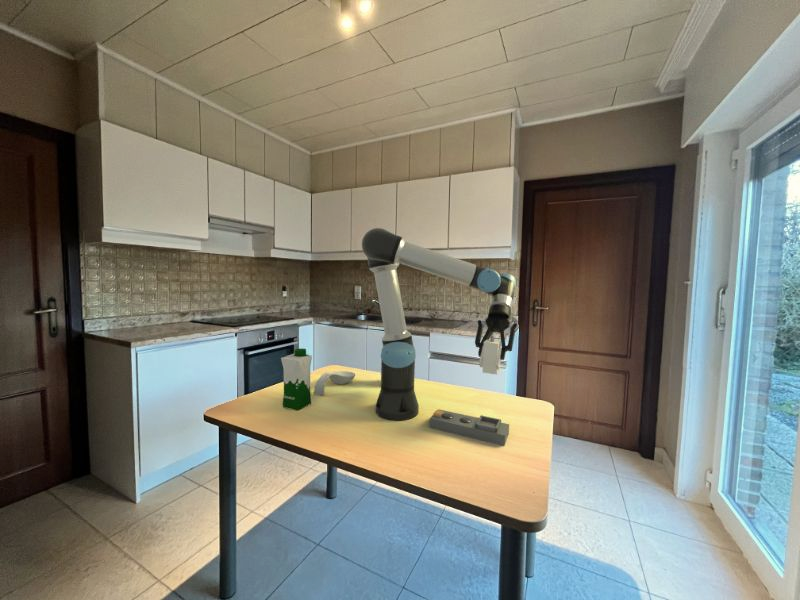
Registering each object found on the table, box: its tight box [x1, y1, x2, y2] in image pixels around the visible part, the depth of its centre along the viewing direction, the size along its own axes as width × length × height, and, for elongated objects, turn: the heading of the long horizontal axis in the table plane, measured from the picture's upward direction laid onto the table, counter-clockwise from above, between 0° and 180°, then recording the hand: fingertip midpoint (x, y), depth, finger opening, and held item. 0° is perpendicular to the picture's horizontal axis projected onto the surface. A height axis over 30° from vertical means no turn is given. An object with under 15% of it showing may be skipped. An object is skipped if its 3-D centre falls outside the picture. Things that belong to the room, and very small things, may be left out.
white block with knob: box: [482, 334, 502, 375], centre depth 109 cm, size 4×5×12 cm
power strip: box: [429, 409, 510, 446], centre depth 104 cm, size 23×8×4 cm, turn 64°
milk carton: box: [280, 348, 313, 411], centre depth 120 cm, size 9×9×20 cm
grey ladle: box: [313, 370, 356, 397], centre depth 141 cm, size 24×12×7 cm, turn 161°
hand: (489, 366), depth 106 cm, fingers closed on white block with knob, 4 cm apart
